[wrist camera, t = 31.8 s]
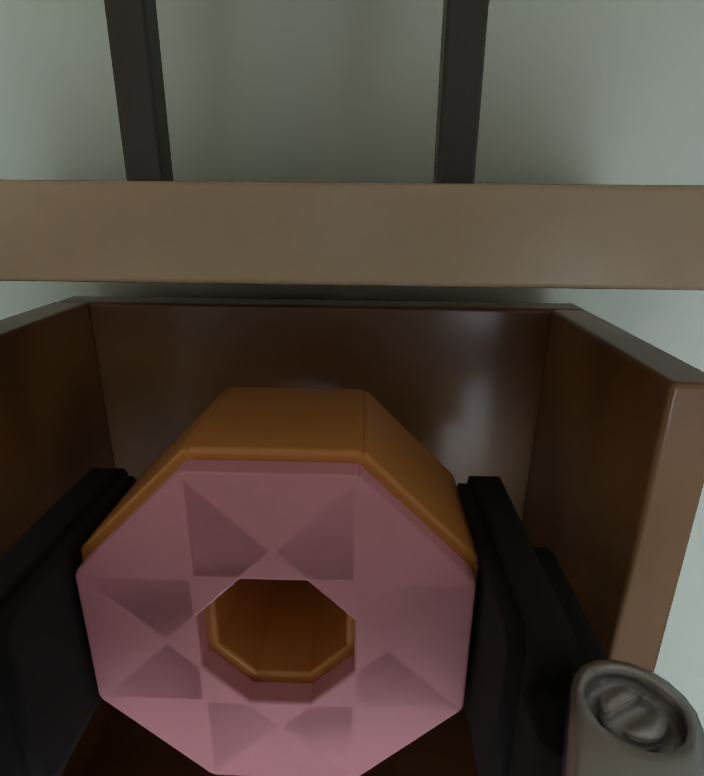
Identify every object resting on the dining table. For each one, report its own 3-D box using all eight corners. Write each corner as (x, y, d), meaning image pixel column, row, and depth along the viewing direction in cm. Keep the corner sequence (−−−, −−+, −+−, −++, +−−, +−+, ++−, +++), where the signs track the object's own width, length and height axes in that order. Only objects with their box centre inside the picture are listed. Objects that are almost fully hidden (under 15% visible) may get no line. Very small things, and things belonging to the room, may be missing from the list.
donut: (168, 639, 12) (106, 778, 9) (134, 383, 10) (38, 458, 7) (441, 647, 12) (464, 791, 9) (462, 389, 10) (501, 468, 7)
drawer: (-24, -126, 10) (-544, -553, 4) (669, -132, 10) (1103, -609, 4) (116, 640, 17) (-21, 878, 11) (539, 654, 16) (633, 909, 11)
